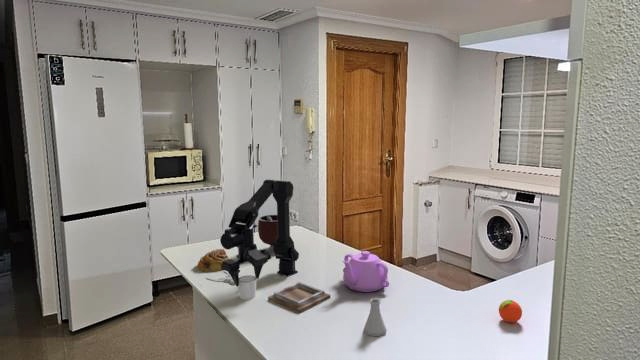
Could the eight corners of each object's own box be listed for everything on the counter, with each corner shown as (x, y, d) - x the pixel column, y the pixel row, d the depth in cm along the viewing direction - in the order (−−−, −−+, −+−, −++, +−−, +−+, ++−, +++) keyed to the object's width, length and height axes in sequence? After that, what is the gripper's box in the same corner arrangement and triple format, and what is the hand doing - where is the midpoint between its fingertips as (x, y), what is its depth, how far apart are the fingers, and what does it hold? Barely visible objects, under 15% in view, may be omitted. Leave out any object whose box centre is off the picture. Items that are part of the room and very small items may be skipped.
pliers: (225, 268, 185) (247, 277, 175) (225, 272, 185) (248, 280, 176) (205, 275, 178) (228, 284, 168) (205, 279, 178) (228, 288, 168)
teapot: (321, 288, 166) (321, 254, 164) (356, 273, 182) (356, 241, 180) (367, 305, 152) (367, 267, 149) (401, 286, 167) (402, 252, 165)
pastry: (232, 270, 187) (232, 252, 186) (196, 273, 184) (195, 255, 182) (231, 260, 200) (230, 243, 199) (197, 263, 196) (196, 246, 195)
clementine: (507, 329, 134) (509, 307, 133) (490, 319, 141) (491, 298, 139) (526, 324, 137) (527, 302, 136) (509, 314, 144) (510, 294, 143)
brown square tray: (299, 286, 168) (299, 279, 168) (330, 297, 158) (330, 291, 157) (268, 299, 157) (268, 292, 156) (299, 313, 146) (299, 305, 146)
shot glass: (260, 294, 162) (259, 276, 161) (251, 301, 156) (251, 283, 154) (244, 291, 164) (243, 274, 163) (234, 299, 158) (234, 280, 157)
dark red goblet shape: (263, 247, 218) (261, 208, 215) (290, 247, 216) (289, 208, 213) (254, 257, 203) (252, 215, 200) (283, 258, 201) (282, 216, 198)
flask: (361, 325, 137) (361, 296, 136) (383, 324, 138) (384, 295, 136) (365, 337, 130) (365, 306, 129) (389, 336, 131) (389, 305, 129)
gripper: (238, 252, 144) (240, 296, 147) (279, 240, 158) (281, 280, 161) (219, 246, 152) (221, 288, 154) (260, 234, 165) (261, 273, 168)
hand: (247, 282), depth 159 cm, fingers open, 9 cm apart
